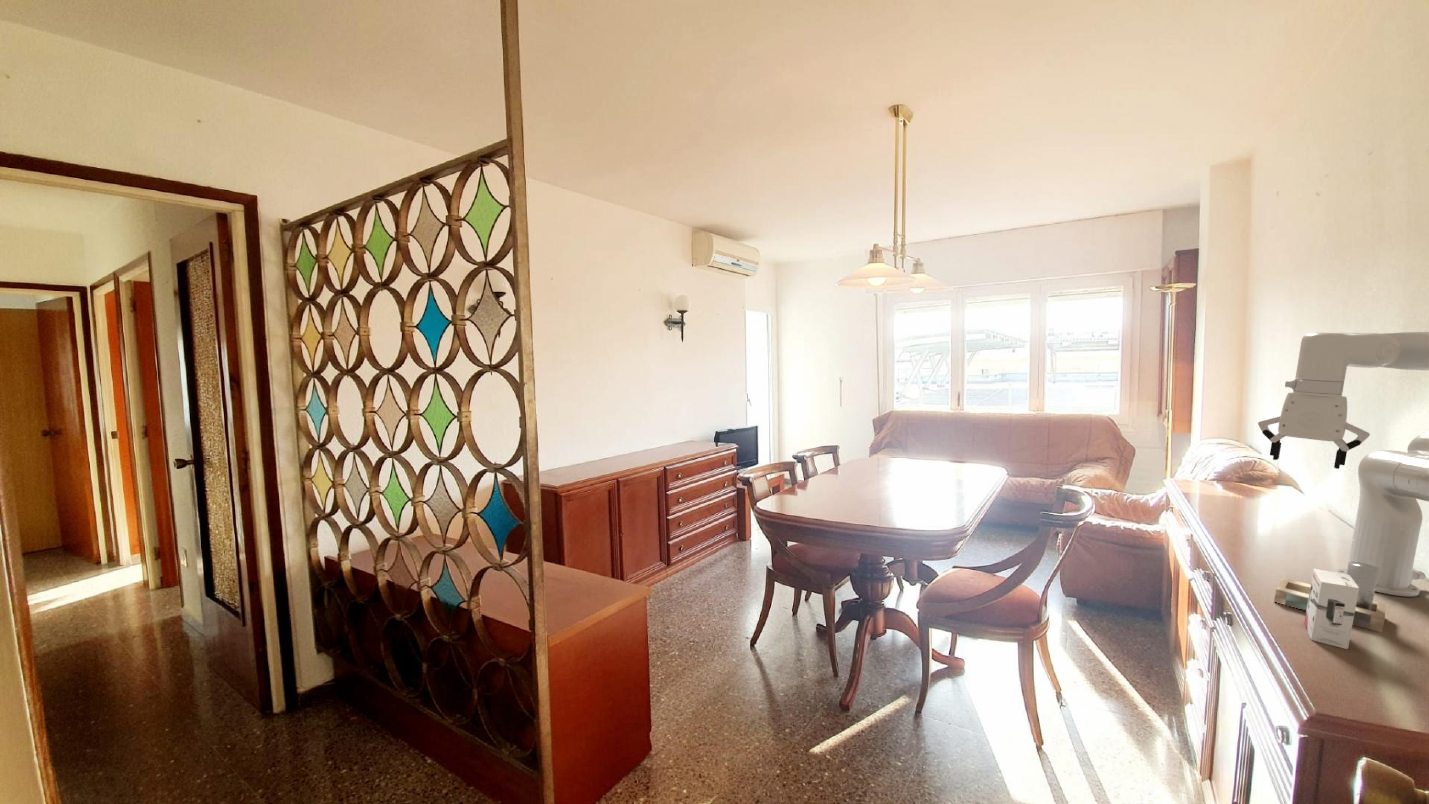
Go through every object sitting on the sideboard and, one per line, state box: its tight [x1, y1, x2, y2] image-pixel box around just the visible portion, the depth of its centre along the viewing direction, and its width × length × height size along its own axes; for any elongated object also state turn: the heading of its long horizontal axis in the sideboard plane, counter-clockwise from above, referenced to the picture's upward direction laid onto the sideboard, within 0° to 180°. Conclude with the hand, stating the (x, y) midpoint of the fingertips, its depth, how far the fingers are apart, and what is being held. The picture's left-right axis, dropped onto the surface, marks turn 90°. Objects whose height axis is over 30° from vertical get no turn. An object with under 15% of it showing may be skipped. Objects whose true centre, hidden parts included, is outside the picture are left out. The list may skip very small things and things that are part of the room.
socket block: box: [1273, 577, 1387, 633], centre depth 117 cm, size 15×10×3 cm
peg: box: [1347, 562, 1379, 611], centre depth 114 cm, size 4×4×11 cm
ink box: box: [1303, 567, 1359, 650], centre depth 106 cm, size 9×5×12 cm, turn 141°
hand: (1305, 463), depth 127 cm, fingers open, 9 cm apart
